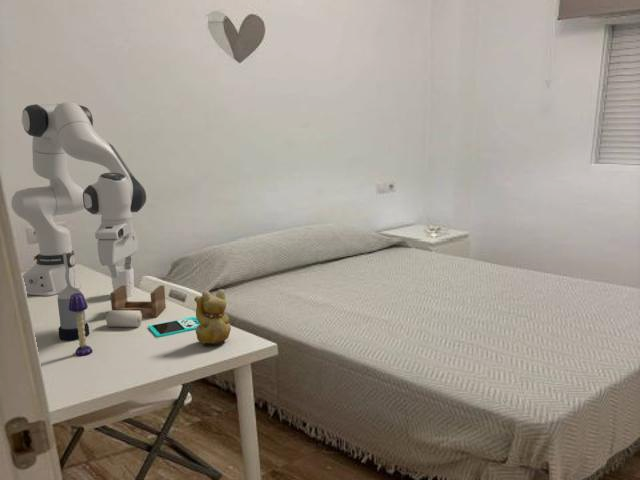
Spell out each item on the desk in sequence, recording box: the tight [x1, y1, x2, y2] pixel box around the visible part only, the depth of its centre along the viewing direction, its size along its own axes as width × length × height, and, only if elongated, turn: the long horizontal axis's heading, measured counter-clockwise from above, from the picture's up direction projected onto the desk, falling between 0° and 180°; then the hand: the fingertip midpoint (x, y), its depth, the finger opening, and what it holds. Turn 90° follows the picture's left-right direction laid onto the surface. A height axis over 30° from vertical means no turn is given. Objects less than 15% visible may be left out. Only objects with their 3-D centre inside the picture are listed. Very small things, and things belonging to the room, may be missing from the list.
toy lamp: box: [69, 292, 93, 357], centre depth 147 cm, size 5×5×17 cm
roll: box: [105, 309, 143, 328], centre depth 169 cm, size 10×5×5 cm, turn 87°
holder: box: [109, 285, 167, 319], centre depth 180 cm, size 14×9×8 cm, turn 87°
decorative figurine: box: [194, 288, 232, 348], centre depth 153 cm, size 10×8×15 cm
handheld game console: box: [148, 316, 200, 338], centre depth 167 cm, size 10×16×1 cm, turn 122°
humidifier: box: [57, 252, 90, 342], centre depth 159 cm, size 8×8×25 cm
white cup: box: [109, 265, 135, 298], centre depth 199 cm, size 8×8×10 cm
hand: (122, 273), depth 167 cm, fingers open, 8 cm apart
